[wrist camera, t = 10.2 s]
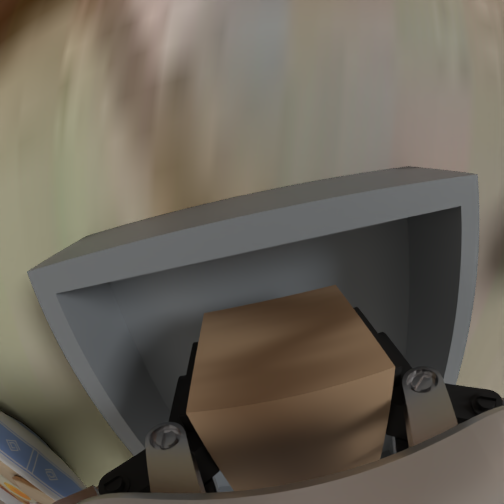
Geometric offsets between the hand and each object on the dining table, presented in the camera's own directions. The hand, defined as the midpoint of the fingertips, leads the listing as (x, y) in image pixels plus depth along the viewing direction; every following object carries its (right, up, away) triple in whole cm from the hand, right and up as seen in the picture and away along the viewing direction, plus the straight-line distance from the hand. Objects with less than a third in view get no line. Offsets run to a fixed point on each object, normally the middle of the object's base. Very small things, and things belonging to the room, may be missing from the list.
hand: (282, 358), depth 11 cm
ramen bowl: (-24, -15, +7) cm, 29 cm away
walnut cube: (0, 0, +1) cm, 1 cm away
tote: (+1, -4, +5) cm, 6 cm away
